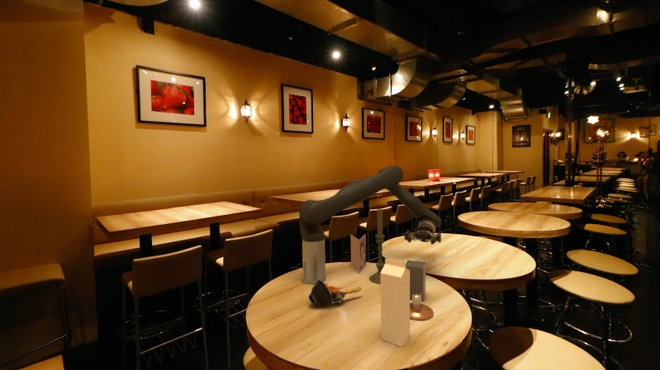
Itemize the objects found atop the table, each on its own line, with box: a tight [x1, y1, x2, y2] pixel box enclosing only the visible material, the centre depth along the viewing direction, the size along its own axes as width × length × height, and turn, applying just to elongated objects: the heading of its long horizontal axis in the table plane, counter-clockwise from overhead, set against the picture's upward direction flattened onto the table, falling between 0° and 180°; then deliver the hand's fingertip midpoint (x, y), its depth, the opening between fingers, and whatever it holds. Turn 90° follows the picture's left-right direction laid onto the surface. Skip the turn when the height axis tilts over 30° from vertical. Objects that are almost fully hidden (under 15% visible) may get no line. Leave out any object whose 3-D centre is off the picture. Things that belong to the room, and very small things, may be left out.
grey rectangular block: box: [405, 259, 427, 303], centre depth 107 cm, size 6×6×12 cm
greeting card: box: [350, 233, 367, 274], centre depth 136 cm, size 11×7×15 cm, turn 160°
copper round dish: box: [410, 293, 434, 322], centre depth 96 cm, size 10×10×6 cm
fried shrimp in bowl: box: [308, 280, 363, 307], centre depth 105 cm, size 9×11×18 cm
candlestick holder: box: [368, 208, 385, 285], centre depth 122 cm, size 9×9×30 cm
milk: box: [380, 258, 411, 347], centre depth 82 cm, size 6×6×22 cm
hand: (420, 241), depth 116 cm, fingers open, 8 cm apart
